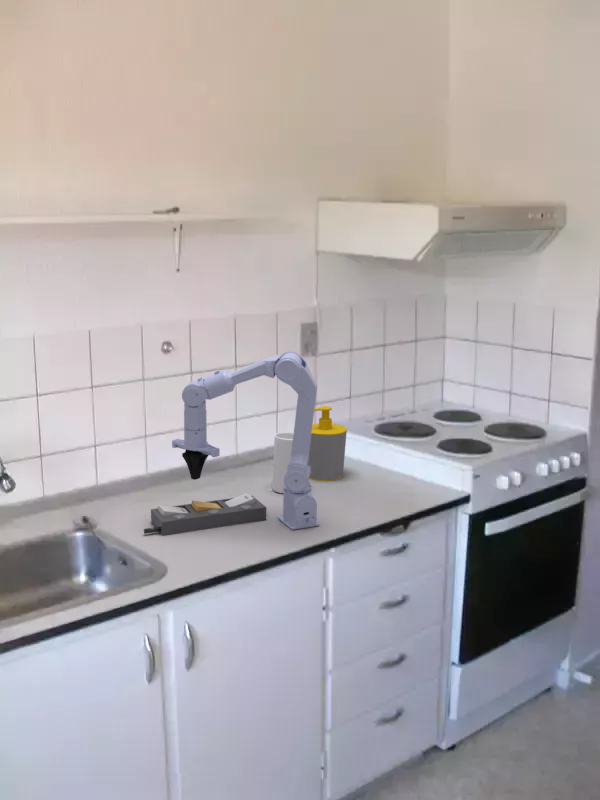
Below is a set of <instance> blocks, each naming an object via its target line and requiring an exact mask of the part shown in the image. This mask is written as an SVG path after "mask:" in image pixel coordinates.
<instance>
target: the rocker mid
mask: <svg viewBox="0 0 600 800" xmlns="http://www.w3.org/2000/svg"><path fill="white" fill-rule="evenodd" d="M190 504H191V506H192V507H193V508H194V509H195V510H196V511H197V512H198V511H205V510H211V509H219V508H221V507H220V506H219V505H218V504H217V503H209V502H208V501H200V500H199V501H198V500H191V503H190Z"/></svg>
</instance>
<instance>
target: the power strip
mask: <svg viewBox="0 0 600 800" xmlns="http://www.w3.org/2000/svg"><path fill="white" fill-rule="evenodd" d="M250 496H251V497H253V498H254V501H255V504H247V505H240V506H233V507H229V506H228V505H227V504H225V503H224V502H226V501H228V500H231V499H233V498H234V497H231V498H225V499H217V500H215V499H214V500H207V502H209V503H217V504H218V505H219V506H220V507H221V508H219V509H211V510H205V511H198V512H197V511H196V510H195V509H194V508H193V507H192V506H191V503H187V504H182V505H181V504H180V505H179V504H178V505H173V506H172V505H171V507H181V508H185V509H186V510H187V511H188V512H189V513H184V514H176V515H170V516H162V515H161V514H160V513H159V512H158V507H157V508H152V509H150V522H151V524H152V525H153V526H154V527H148V528H143V533H144V535H145V534H153V533H159V534H161V536H167V535H168V536H169V535H174V534H181V533H183V534H184V533H188V532H195V531H202V530H208V529H215V528H221V527H228V526H233V525H235V526H236V525H242V524H247V523H254V522H261V521H267V506H266V505H265V504H263V503H262V502H261V501H259V499H257V498H255V496H253V495H250Z"/></svg>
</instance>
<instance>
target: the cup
mask: <svg viewBox="0 0 600 800" xmlns="http://www.w3.org/2000/svg"><path fill="white" fill-rule="evenodd" d="M293 435H294V431H293V432H292V431H282V432H277V433H275V434H274V442H273V443H274V445H273V464H272V466H273V469H272V485H271V486H272V487H271V488H272V491H274V492H275V493H279V494H284V485H285V484H284V476H285V474H286V472H287V467H288V465H289V463H290V458H291V452H292V443H293Z"/></svg>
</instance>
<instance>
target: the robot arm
mask: <svg viewBox="0 0 600 800" xmlns="http://www.w3.org/2000/svg"><path fill="white" fill-rule="evenodd" d="M263 376H265V377H269V378H272V379H274V378H275V377H277V379H278V380H279V381H281V382H282V383H284V384H286V385H289V386H290V387H291V388H292V389H293V390H294V392H295V393H296V394H297V401H296V402H297V403H296V409H295V417H294V418H295V419H294V428H293V432H294V435H293V443H292V452H291V458H290V463H289V465H288V467H287V472H286V474H285V476H284V484H285V485H284V493H283V501H282V502H283V510H282V512H283V514H282V515H281V514H280V515H278V516H277V517H276V518H277V519H278V520H279V521H281V522H282V523H283V524H284V525H285V526H286V527H288V528H290V530H291V531H294V530H298V529H305V528H311V527H317V526H320V523H319V522H318V521H317V514H318V512H317V508H318V507H317V506H318V503H317V500H316V499H315V497H314V496H313V493H312V485H311V483H310V481H309V480H310V479H309V476H310V474H311V467H310V465H309V450H310V442H311V434H312V425H313V424H314V416H315V415H314V414H315V411H314V409H315V408H316V399H317V390H318V384H317V383H316V381H315V380H316V379H315V378H314V377H313V374H312V372H311V371H310V367H309V366H308V363H307V361H306V360H305V359H304V358H303V357H302V355H300V354H299V353H297V352H295V351H291V350H290V351H286V352H283V354H281V353H279V354H275V355H272V356H269V357H266V358H264V359H260V360H258V361H256V362H254V363H251V364H250V365H247V366H245V367H242V368H240V369H238V370H237V369H236V370H235V371H232V372H231V371H229V370H226V369H223V370H221V369H216V370H215V371H214V373H213V374H210V375H208V376H205V377H202V376H200V377H198V378H197V380H192V381H190V382H189V383H188V384H187V385H186V386H185V387H184V388H183V390H182V393H181V400H182V401H183V403H184V405H183V406H184V411H183V427H184V428H183V435H184V437H183V438H184V439H179V438H176V439H173V440H172V441H171V445H172V446H171V448H173V449H176V448H177V449H182V450H185V451H184V452H182V453H181V457H182V459H184V461H185V463H186V466H187V468H188V471H189V476H190V478H191V480H194V481H195V480H198V479H200V478H201V475H202V472H203V468H204V465H205V462H206V461H207V459H208V458H209V456H211V457H212V458H217V457H219V456H220V448H218V447H215V446H213V445H211V444H209V441H207V440H208V439H207V431H208V430H207V429H208V428H207V400H213V399H215V398H217V397H218V398H219V397H221V396H224V395H226V394H229V393H231V392H233V391H234V390H235V387H236V385H239V384H242V383H244V382H247V381H250V380H254V379H257V378H260V377H263Z"/></svg>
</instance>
